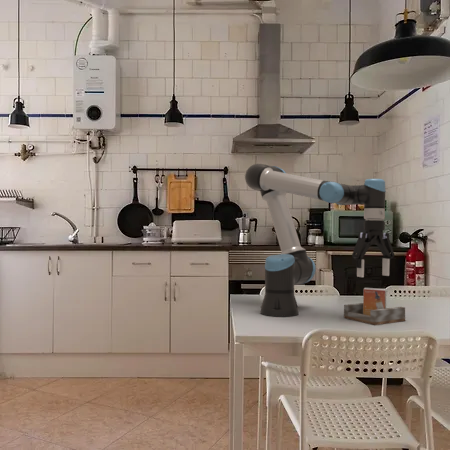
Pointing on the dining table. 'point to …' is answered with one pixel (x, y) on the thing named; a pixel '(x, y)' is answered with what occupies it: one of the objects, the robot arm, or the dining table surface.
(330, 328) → the dining table surface
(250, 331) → the dining table surface
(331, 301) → the dining table surface
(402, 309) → the cradle
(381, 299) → the small box
